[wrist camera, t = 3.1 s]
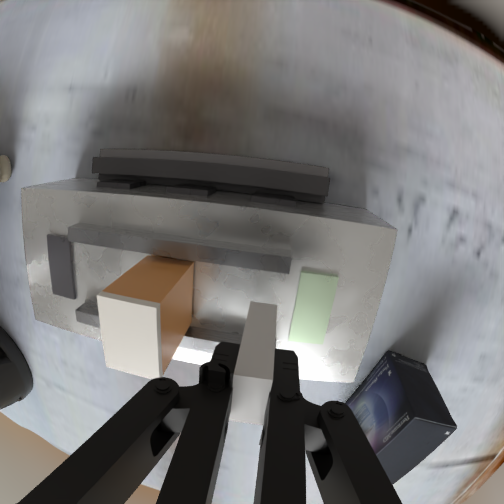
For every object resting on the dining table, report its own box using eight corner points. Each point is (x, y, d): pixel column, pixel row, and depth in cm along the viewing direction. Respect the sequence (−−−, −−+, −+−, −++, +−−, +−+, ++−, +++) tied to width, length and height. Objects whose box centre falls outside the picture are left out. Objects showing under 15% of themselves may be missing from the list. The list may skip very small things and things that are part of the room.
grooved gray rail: (106, 178, 27) (91, 181, 25) (108, 149, 26) (93, 149, 24) (321, 201, 26) (325, 205, 23) (326, 167, 25) (331, 168, 23)
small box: (384, 346, 29) (415, 416, 19) (426, 363, 30) (461, 426, 20) (332, 413, 33) (341, 483, 23) (374, 424, 33) (390, 489, 23)
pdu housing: (79, 287, 31) (26, 326, 22) (75, 174, 27) (9, 185, 18) (339, 331, 29) (356, 394, 20) (367, 204, 26) (406, 228, 17)
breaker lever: (148, 313, 21) (106, 366, 15) (147, 255, 20) (96, 295, 14) (191, 322, 21) (159, 381, 15) (194, 262, 20) (156, 308, 13)
